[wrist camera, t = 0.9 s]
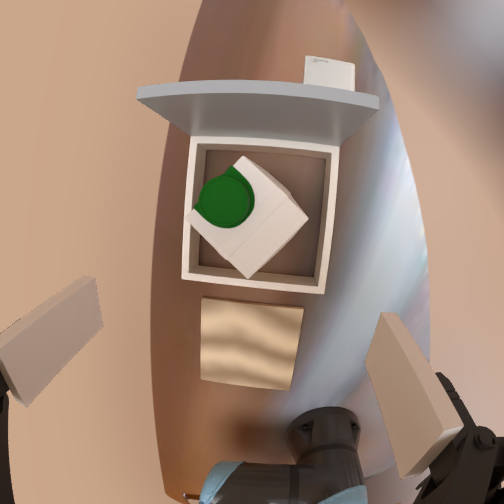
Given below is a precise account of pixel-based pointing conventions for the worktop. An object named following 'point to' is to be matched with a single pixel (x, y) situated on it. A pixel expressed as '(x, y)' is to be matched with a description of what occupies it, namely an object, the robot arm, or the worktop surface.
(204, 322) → the wooden mat
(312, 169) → the worktop surface
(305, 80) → the hard drive
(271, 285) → the equipment case
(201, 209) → the soya milk
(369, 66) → the worktop surface
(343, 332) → the worktop surface
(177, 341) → the worktop surface
